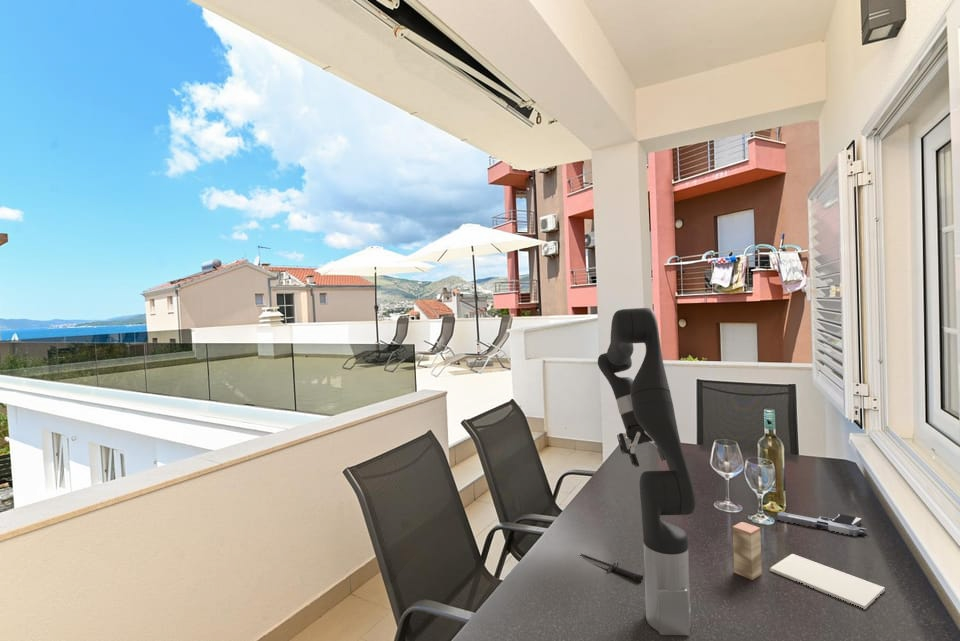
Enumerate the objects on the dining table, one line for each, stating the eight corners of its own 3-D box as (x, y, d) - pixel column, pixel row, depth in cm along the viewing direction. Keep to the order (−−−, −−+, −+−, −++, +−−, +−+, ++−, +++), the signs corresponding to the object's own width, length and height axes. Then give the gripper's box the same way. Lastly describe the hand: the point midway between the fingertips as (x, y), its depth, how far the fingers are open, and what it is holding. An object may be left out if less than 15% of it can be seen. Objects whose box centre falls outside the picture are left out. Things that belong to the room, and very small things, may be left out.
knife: (558, 550, 137) (568, 543, 140) (559, 557, 137) (569, 549, 140) (635, 580, 118) (645, 570, 121) (636, 587, 118) (646, 577, 121)
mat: (884, 590, 112) (884, 587, 112) (864, 609, 106) (864, 606, 106) (792, 556, 129) (792, 553, 129) (770, 570, 123) (770, 567, 123)
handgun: (781, 502, 160) (776, 514, 151) (866, 517, 146) (867, 532, 137) (781, 509, 160) (776, 521, 151) (866, 525, 146) (867, 540, 137)
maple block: (761, 574, 121) (760, 527, 121) (752, 580, 119) (750, 532, 119) (743, 566, 125) (742, 521, 125) (734, 572, 123) (732, 526, 122)
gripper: (614, 413, 143) (632, 467, 137) (657, 403, 145) (677, 456, 139) (607, 418, 150) (624, 470, 144) (649, 408, 152) (667, 459, 146)
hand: (650, 463), depth 142 cm, fingers open, 8 cm apart
